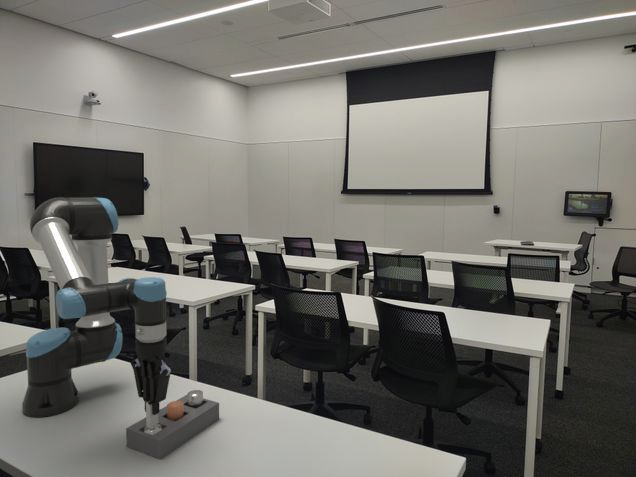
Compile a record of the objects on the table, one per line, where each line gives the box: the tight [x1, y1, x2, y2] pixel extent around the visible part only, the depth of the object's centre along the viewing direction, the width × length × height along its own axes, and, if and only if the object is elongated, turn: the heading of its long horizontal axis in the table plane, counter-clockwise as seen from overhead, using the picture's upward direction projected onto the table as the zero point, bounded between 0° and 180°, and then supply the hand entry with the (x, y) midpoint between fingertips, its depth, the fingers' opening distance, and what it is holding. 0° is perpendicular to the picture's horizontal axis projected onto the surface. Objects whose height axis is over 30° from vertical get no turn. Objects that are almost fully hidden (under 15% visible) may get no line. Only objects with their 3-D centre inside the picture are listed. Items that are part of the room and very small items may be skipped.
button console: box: [125, 394, 220, 460], centre depth 125 cm, size 12×23×5 cm, turn 153°
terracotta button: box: [166, 400, 184, 421], centre depth 124 cm, size 4×4×4 cm
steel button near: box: [144, 424, 162, 435], centre depth 118 cm, size 4×4×4 cm
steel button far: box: [186, 389, 204, 409], centre depth 132 cm, size 4×4×4 cm
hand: (152, 424), depth 118 cm, fingers closed
